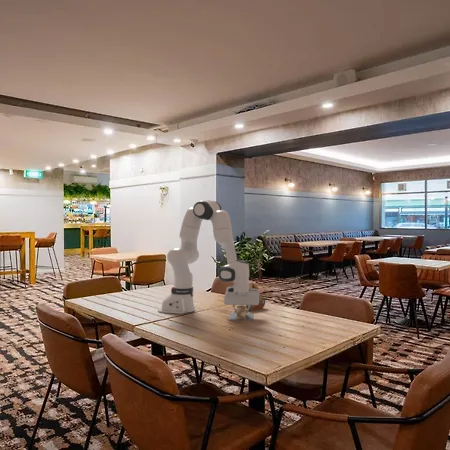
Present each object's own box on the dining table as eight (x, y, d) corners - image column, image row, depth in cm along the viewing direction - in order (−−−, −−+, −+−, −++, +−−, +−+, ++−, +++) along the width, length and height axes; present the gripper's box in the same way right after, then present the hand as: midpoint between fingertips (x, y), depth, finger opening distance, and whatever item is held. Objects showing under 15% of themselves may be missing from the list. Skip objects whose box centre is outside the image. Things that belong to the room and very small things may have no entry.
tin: (248, 311, 245) (248, 297, 245) (244, 310, 247) (244, 297, 247) (265, 308, 254) (265, 295, 254) (262, 307, 257) (262, 294, 257)
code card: (228, 320, 223) (228, 320, 223) (230, 313, 241) (230, 312, 241) (253, 321, 222) (253, 320, 222) (253, 313, 240) (253, 313, 240)
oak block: (236, 319, 226) (236, 308, 226) (237, 314, 238) (237, 303, 238) (245, 319, 225) (245, 308, 225) (245, 314, 237) (245, 304, 237)
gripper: (259, 287, 234) (259, 311, 234) (224, 287, 235) (224, 310, 235) (259, 289, 227) (259, 314, 228) (223, 289, 229) (223, 313, 229)
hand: (241, 312), depth 231 cm, fingers closed on oak block, 5 cm apart
